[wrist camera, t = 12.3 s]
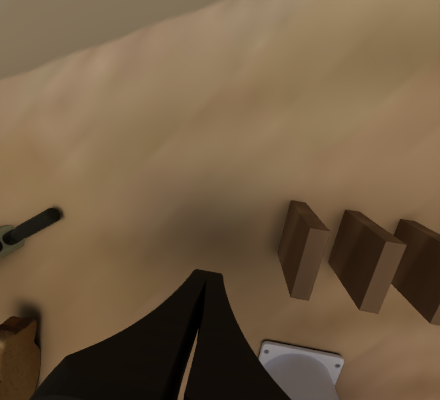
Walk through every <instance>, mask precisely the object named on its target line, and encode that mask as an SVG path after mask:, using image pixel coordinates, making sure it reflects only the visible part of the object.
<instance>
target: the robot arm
mask: <svg viewBox="0 0 440 400" xmlns="http://www.w3.org/2000/svg"><path fill="white" fill-rule="evenodd" d="M198 328H199V329H198ZM197 331H198V338H197V345H196V349H195V353H194V357H193V361H192V365H191V369H190V373H189V377H188V381H187V385H186V389H185V393H184V400H339V398H338V395H337V393H336V390H335V387H334V386H335V384H336V381H337V379H338V376H339V374H340V371H341V369H342V366H343V364H344V360H343V357H342V356H340V355H336V354H331V353H326V352H321V351H316V350H311V349H306V348H301V347H296V346H291V345H285V344H280V343H275V342H270V341H265V342H263V343H262V347H261V351H260V354H259V358H257V356H256V355H255V353H254V352H253V350H252V349H251V347H250V346H249V344H248V342H247V340H246V339H245V337H244V335H243V333H242V331H241V329H240V327H239V325H238V323H237V321H236V319H235V316H234V314H233V312H232V309H231V306H230V304H229V301H228V298H227V294H226V291H225V287H224V282H223V275H222V274H220V273H215V272H209V271H204V270H199V269H195V270H194V271H193V272H192V273H191V275H190V276H189V277H188V278H187V280H186V281H185V282H184V283H183V284H182V285H181V286H180V287H179V288H178V289H177V290H176V291H175V292H174V293H173V294H172V295H171V296H170V297H169V298H168V299H167V300H165V301H164V302H163V303H162V304H161V305H160V306H158V307H157V308H156V309H155V310H153V311H152V312H151V313H149V314H148V315H146V316H145V317H144V318H142V319H141V320H139V321H137V322H136V323H134V324H133V325H131V326H130V327H128V328H126V329H125V330H123V331H121V332H119V333H117V334H115V335H113V336H112V337H110V338H108V339H106V340H104V341H101V342H99V343H97V344H95V345H92V346H90V347H88V348H85V349H83V350H80V351H78V352H75V353H73V354H70V355H68V356H66V357H65V358H64V359H63V360H62V361H61V362H60V363H59V364H58V365H57V366H56V367H55V368H54V370H53V371H52V372H51V373H50V374H49V375H48V376H47V377H46V379H45V380H44V381H43V382H42V384H41V385H40V386H39V388H38V389H37V390H36V391H35V393H34V394H33V395H32V396H31V398H30V399H29V400H177V399H178V395H179V390H180V386H181V383H182V379H183V375H184V372H185V369H186V366H187V363H188V360H189V356H190V353H191V350H192V347H193V344H194V341H195V337H196V334H197Z"/></svg>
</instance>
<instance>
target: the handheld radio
mask: <svg viewBox="0 0 440 400" xmlns="http://www.w3.org/2000/svg"><path fill="white" fill-rule="evenodd" d="M59 219H60V213H59V212H58V210H56V209H54V208H49V209H47V210H45V211H44V212H42V213H40V214H38V215H37V216H35V217H33V218H31V219H30V220H28V221H26V222H24V223H22V224H21V225H19V226H17V227H16V228H15V227H14V226H12V225H6V226H2V227H0V259H1V258H2V257H4V256H6V255H7V254H9V253H11V252H13V251H14V250H16V249H18V248H20V247H21V246H23V244H24V240H23V239H24V238H27V237H29V236H31V235H33V234H34V233H36V232H38V231H40V230H42V229H44V228H45V227H47V226H49V225H51V224H53V223H55V222H56V221H58V220H59Z"/></svg>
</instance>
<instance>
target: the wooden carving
mask: <svg viewBox="0 0 440 400" xmlns="http://www.w3.org/2000/svg"><path fill="white" fill-rule="evenodd" d="M36 330H37V322H36V319H32V318H18V317H14V316H12V317H10V318H9V319H7V320H6V321H5V322H4V323H2V324H1V325H0V400H29V399H30V398H31V396H32V395H33V394H34V392H35V389H36V385H37V381H38V377H39V372H40V365H41V354H40V350H39V347H38V346H37V345H36V344H35V343H34V338H35V335H36Z"/></svg>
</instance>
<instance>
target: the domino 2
mask: <svg viewBox="0 0 440 400" xmlns="http://www.w3.org/2000/svg"><path fill="white" fill-rule="evenodd" d="M406 246H407V245H406V244H405V243H403V242H402V241H400V240H399V239H398V238H396V237H395V236H393V235H392V234H390V233H389V232H388V231H386V230H385V229H383V228H382V227H380V226H379V225H378V224H376V223H375V222H373V221H372V220H370V219H369V218H368V217H366V216H365V215H363V214H362V213H360V212H357V211H351V210H345V212H344V215H343V218H342V221H341V224H340V227H339V230H338V234H337V237H336V240H335V243H334V246H333V249H332V252H331V255H330V259H329V262H328V263H329V264H330V266H331V267H332V269H333V270H334V272H335V273H336V275H337V276H338V278H339V280H340V281H341V283H342V284H343V286H344V287H345V289H346V290H347V292H348V294H349V295H350V297H351V298H352V300H353V301H354V303H355V304H356V306H357V307H358V309H359V310H360V311H366V312H371V313H376V314H378V313H379V310H380V308H381V306H382V303H383V301H384V298H385V296H386V294H387V291H388V289H389V286H390V284H391V282H392V279H393V277H394V274H395V272H396V270H397V267H398V265H399V262H400V260H401V258H402V255H403V253H404V250H405V248H406Z"/></svg>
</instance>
